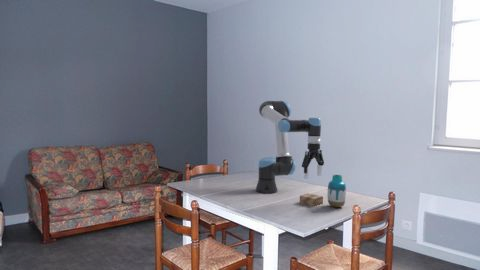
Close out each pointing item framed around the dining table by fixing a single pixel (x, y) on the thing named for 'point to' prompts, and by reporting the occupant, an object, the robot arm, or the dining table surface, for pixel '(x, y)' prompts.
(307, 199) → the brown rectangular block
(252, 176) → the dining table surface
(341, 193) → the vase
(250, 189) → the dining table surface
